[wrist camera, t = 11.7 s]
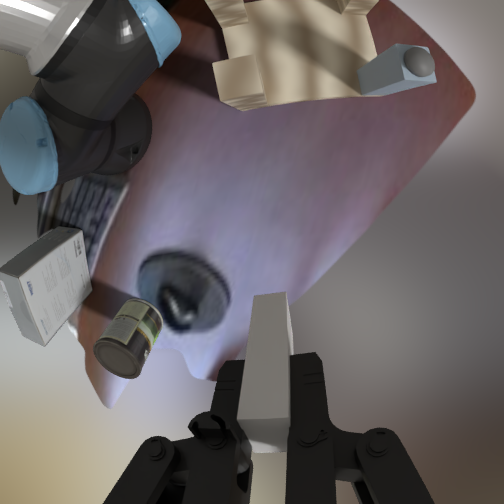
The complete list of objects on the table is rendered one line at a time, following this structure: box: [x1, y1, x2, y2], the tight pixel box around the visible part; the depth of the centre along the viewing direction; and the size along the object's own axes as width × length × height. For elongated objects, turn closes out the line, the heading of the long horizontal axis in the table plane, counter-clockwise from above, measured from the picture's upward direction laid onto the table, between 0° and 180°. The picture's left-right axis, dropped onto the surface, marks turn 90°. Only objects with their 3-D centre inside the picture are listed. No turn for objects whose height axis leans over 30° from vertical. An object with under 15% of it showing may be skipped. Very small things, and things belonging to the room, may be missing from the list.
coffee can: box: [93, 298, 163, 379], centre depth 51 cm, size 10×10×14 cm
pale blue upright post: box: [357, 44, 436, 96], centre depth 25 cm, size 4×4×16 cm
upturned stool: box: [205, 0, 385, 111], centre depth 25 cm, size 22×18×17 cm
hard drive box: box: [0, 226, 92, 347], centre depth 43 cm, size 16×8×20 cm, turn 174°
